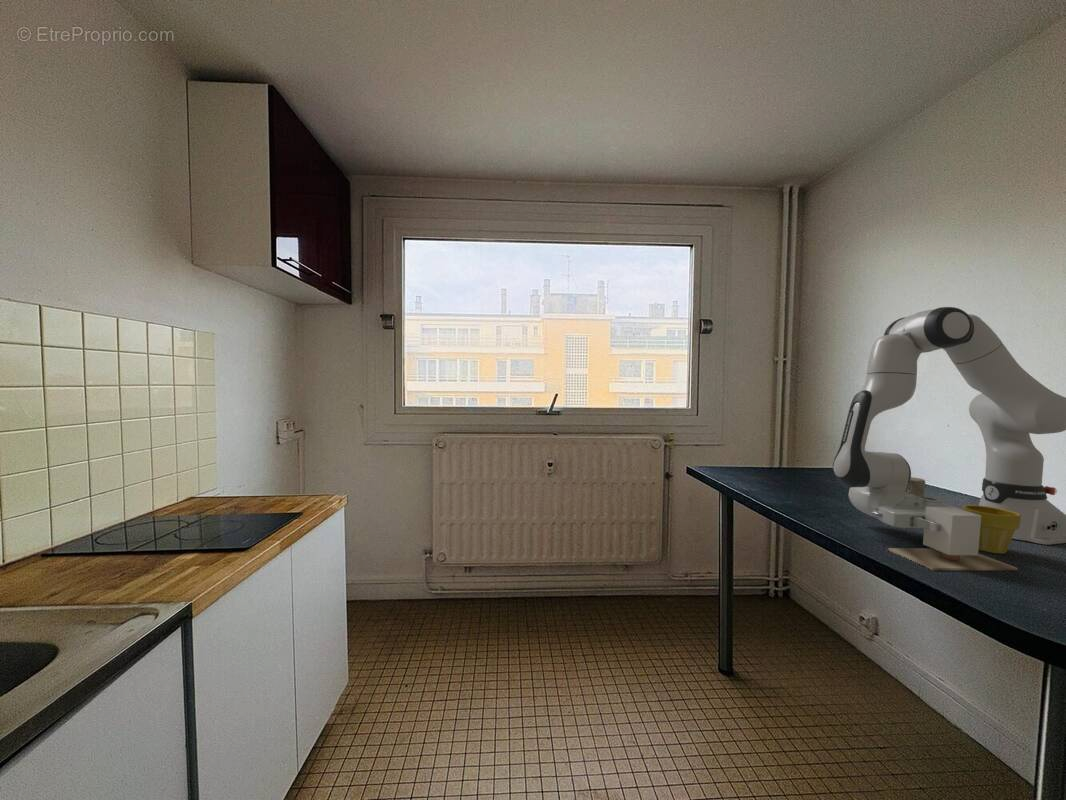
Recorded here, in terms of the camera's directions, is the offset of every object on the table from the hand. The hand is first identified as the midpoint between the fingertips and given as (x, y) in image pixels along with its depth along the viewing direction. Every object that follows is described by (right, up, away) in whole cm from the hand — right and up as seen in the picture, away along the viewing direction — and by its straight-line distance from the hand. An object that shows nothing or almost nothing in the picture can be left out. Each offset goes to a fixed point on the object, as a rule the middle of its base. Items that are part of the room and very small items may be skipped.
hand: (955, 527), depth 111 cm
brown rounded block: (0, -8, +1) cm, 8 cm away
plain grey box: (0, -5, +1) cm, 5 cm away
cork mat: (0, -8, +1) cm, 8 cm away
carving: (+17, -7, +36) cm, 40 cm away
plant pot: (+16, -8, +9) cm, 20 cm away
